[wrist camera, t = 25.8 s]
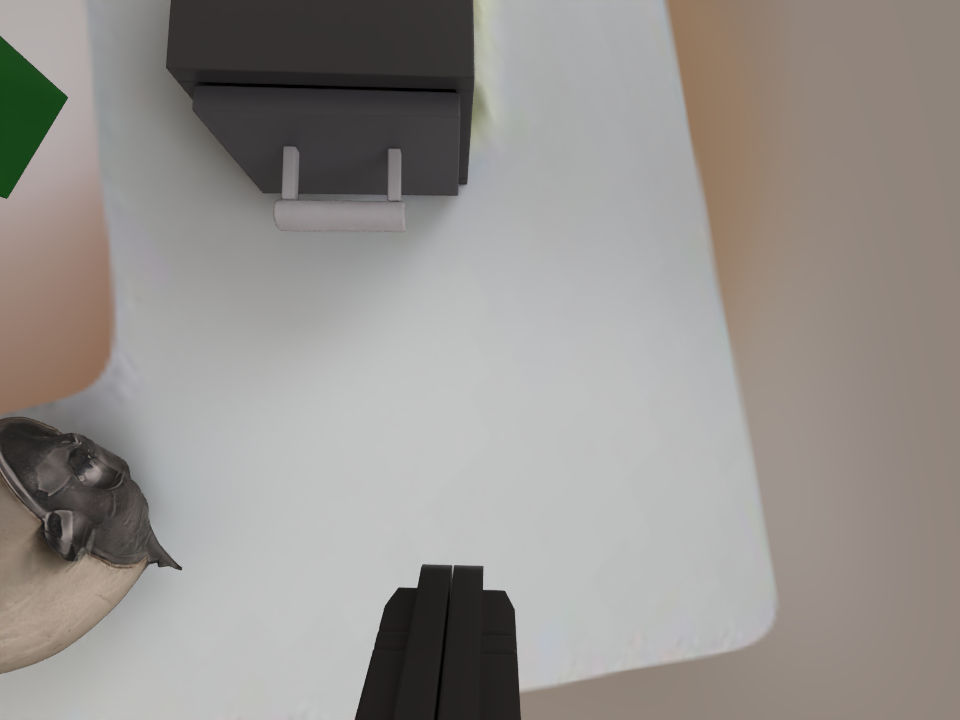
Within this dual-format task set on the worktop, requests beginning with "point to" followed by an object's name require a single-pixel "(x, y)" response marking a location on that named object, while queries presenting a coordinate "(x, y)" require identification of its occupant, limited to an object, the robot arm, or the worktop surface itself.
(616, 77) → the worktop surface
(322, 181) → the drawer
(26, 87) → the milk carton
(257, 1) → the cabinet
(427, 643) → the robot arm
